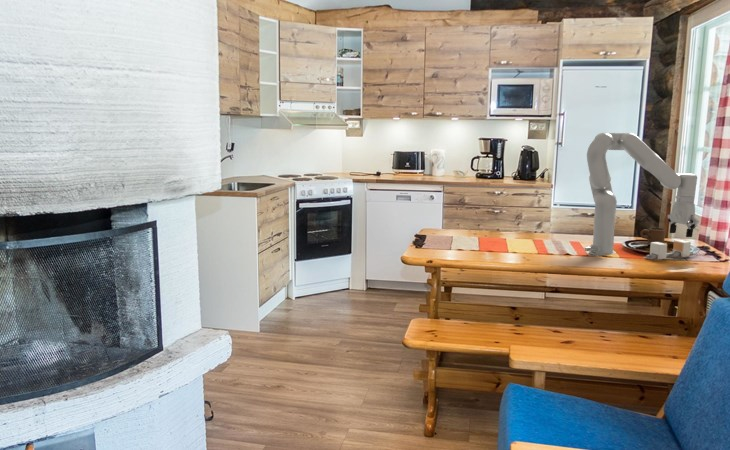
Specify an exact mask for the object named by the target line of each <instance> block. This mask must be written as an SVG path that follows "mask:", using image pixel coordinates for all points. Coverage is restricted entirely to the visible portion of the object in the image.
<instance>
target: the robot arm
mask: <svg viewBox="0 0 730 450" xmlns="http://www.w3.org/2000/svg"><path fill="white" fill-rule="evenodd" d="M608 151H625V152H626V153H627V154H628V155H629V156H630V157H631V158H632V159H633V160H634V162H636V163H637V164H638V165H639V166H640V167H641V168H643V169H644V170H645V171H647V172H649V173H650V174H652V175H653V176H654V177H655V178H656V179H657V180H658V181H659V182H660V185H661V186H663V187H664V188H666V189H668V190H675V189H677V190H676V196H675V201H674V202H673V205H672V208H671V213H670V214H667V219H668V222H669V223H668V224H669V225H670V226H669V234H676V232H677V224H682V225H686V226H687V228H686V232H685V238H692V237H693V234H694V233H693V232H694V230H695V229H696V227H698V224H699V222H700V221H699V219H697V218H696V216H695V215H696V204H695V197H696V188H697V183H698V182H697V181H698V175H696V174H694V173H678V172H676V171H675V170H674V169H673V168H672V167H670V166H669V164H667V163H666V162H665V161H664V160H663V159H662V158H661V157H660V156H659V155H658V154H657V153H656V152H655V151H654V150H652V149H651V148H650V147H649V146H648V145H647V144H646V143H645V142H644V141H643V140H642V139H641V138H640V137H639V136H637V134H635V133H632V132H625V133H624V132H623V133H622V132H601V133H598V134H596V136H595V137H594V138H593V140H592V141H591V143H590V144H589V145H588V149H587V152H586V162H587V166H588V171H589V172H588V173H589V177H588V179H589V180H588V181H589V185H590V190H591V194H592V198H593V201H594V215H593V216H594V217H593V235H592V236H593V237H592V244H591V245H590V246H584V248H583V249H584V251H585V252H588V254H590V255H593V256H597V257H605V256H607V255H615V254H617V252H616V251H615V250H614V241H615V227H616V226H615V223H616V211H617V205H618V204H617V202H618V201H617V198H616V196H615V194H614V192H613V188H612V184H611V183H612V182H611V180H612V177H611V174H610V172H609V171H610V170H609V168H608V163H607V157H606V154H607V152H608Z"/></svg>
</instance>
